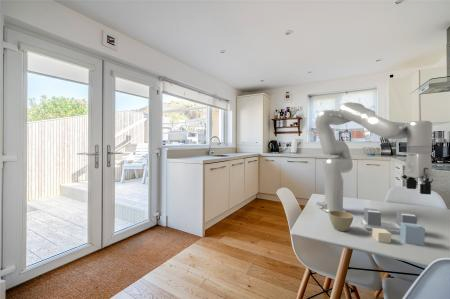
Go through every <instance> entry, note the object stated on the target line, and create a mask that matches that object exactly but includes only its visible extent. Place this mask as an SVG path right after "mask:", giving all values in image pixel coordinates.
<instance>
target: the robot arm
mask: <svg viewBox="0 0 450 299" xmlns="http://www.w3.org/2000/svg"><path fill="white" fill-rule="evenodd" d="M350 122H353V123H355V124H358V125H360V126H362V127H363V128H364V129H366V130H367V131H368V132H370V133H372V134H374V135H377V136H379V137H380V138H384V139H386V140H387V139H388V140H389V139H391V140H402V139H403V140H404V139H406V155H405V156H406V158H405V162H404V163H405V165H404V175H405V177H406V189H408V190H416V189H417V179H419V181H420V184H419V193H420V195H431V194H432V185H433V181H434V177H435V175H434V173H433V165H432V164H433V162H432V156H431V155H432V154H433V153H432V151H433V150H432V148H433V147H432V146H433V123H432V122H431V120H414V121H413V120H412V121H410V122H400V121H391V120H388V119H385V118H383V117H381V116H378V115H377V114H376V112H375V111H374V110H373V109H370V108H367V107H365V106H364V105H363V104H362V103H358V102H350V101H348V102H345V103H342V104H341V105H340V106H339V109H338V110H333V109H326V110H325V109H324V110H322V111H320V112H319V113H318V114H317V116H316V118H315V122H314V124H315V128H316V131H317V134H318V138H319V142H320V146H321V151H322V153H323V154H324V155H325V156H328V157H329V158H327V159H326V160H325V161H324V163H323V172H324V200H323V201H321V202H320V201H316V203H315V204H316V206H318V207H321V210H322V211H323V212H325V213H328V214H329V212H330V211H343V212H347V211H346V208H344V178H343V175H342V174H346V173H349V172H350V171H352V169H353V168H354V167H353V164H354V162H353V159H352V156H351V153H350V148H349V146H348V145H347V143H346V142H345V141H343V140H340V139H337V138H336V135H335V131H334V130H333V128H332V127H331V126H338V125H339V126H340V125H345V124H347V123H350ZM331 156H333V157H331Z"/></svg>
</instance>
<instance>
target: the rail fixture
mask: <svg viewBox="0 0 450 299" xmlns="http://www.w3.org/2000/svg"><path fill="white" fill-rule="evenodd" d="M363 211H364V212H363V219H362V220H360V224H361V225H362V227H363V228H364V229H365V230H366V231H370V232H373V228H379V229H385V230H387V231H388V232H390V233H391V235H392V234H393V235H400V226H401V222H403V223H412V224H418V216H416V215H415V214H413V213H411V212H409V211H400V210H399V211H398V210H397V211H396V220H395V221H396V222H395V223H393V222H383V221H382V213H381V212H380V211H379V210H378V209H377V208H370V207H369V208H367V207H364V210H363Z"/></svg>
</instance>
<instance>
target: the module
mask: <svg viewBox="0 0 450 299" xmlns="http://www.w3.org/2000/svg"><path fill="white" fill-rule="evenodd" d="M425 236H426V228H425V227H423V226H422V225H420V224H419V223H417V224H412V223H403V222H401V226H400V234H399V239H400V240H401V241H402V242H403V243H404V244H408V245H412V246H413V245H414V246H420V245H421V246H422V247H424V246H425V240H426V239H425Z"/></svg>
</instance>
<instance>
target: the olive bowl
mask: <svg viewBox="0 0 450 299" xmlns="http://www.w3.org/2000/svg"><path fill="white" fill-rule="evenodd" d="M328 216H329V220H330V222H331V225H332V227H333V228H334V229H335V230H337V231H338V232H339V231H340V232H346V231H347V230H348V229H349V228H350V227H351V225H352V223H353V221H354V215H353V214H351V213H349V212H347V211H346V212H343V211H330V212H329V213H328Z"/></svg>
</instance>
